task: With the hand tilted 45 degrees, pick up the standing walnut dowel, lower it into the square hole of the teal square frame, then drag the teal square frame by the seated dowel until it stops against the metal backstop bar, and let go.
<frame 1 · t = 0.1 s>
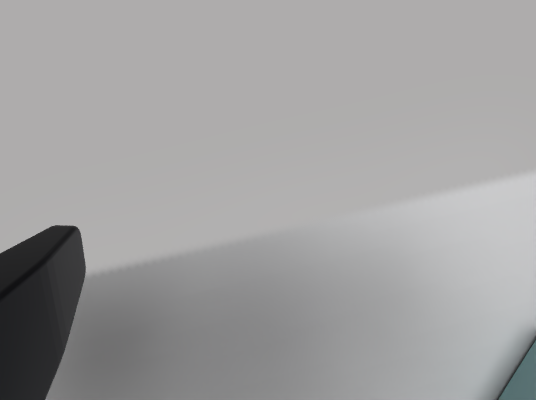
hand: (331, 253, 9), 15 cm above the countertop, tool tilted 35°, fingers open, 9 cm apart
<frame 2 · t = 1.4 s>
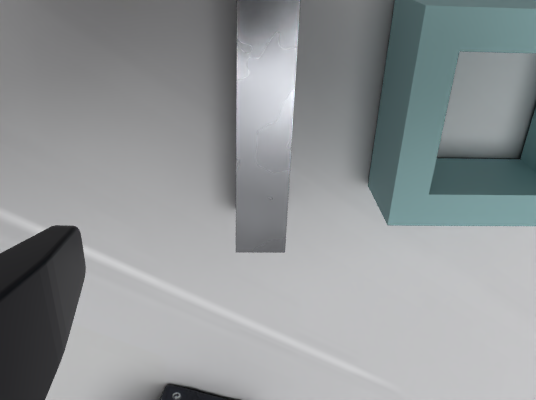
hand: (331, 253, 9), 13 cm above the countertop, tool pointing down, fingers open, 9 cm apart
backstop: (261, 94, 21), on the countertop
teal square frame: (494, 113, 20), point 2 cm above the countertop, slide at 0.0 cm
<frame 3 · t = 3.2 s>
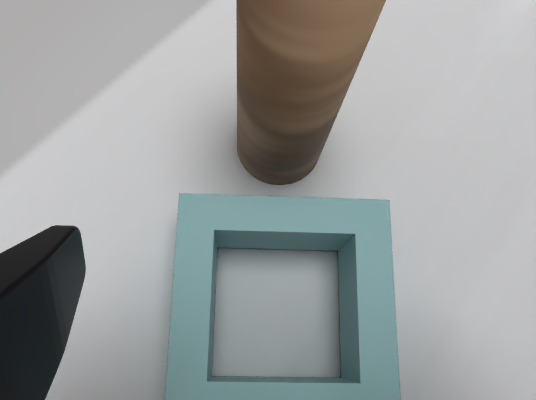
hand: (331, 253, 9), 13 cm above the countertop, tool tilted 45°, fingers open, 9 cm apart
teal square frame: (280, 307, 20), point 2 cm above the countertop, slide at 0.0 cm
dowel: (278, 145, 24), on the countertop
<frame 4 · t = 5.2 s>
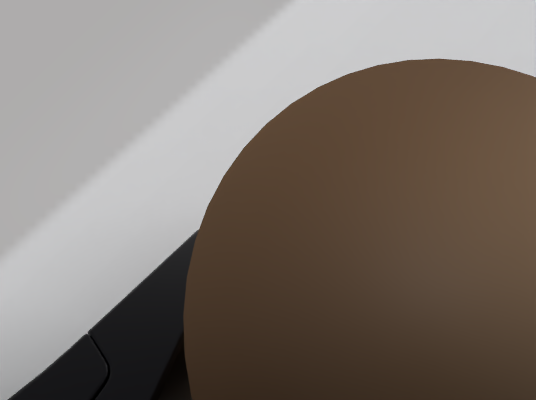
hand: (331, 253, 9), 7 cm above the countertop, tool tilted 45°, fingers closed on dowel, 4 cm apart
dowel: (293, 338, 15), on the countertop, touching gripper
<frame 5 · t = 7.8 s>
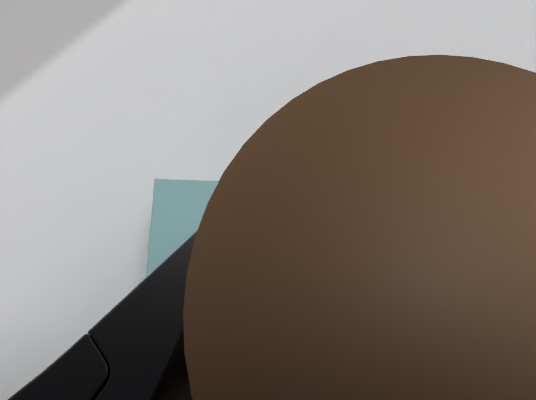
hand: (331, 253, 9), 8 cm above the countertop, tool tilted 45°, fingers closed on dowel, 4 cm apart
teal square frame: (294, 335, 15), point 2 cm above the countertop, slide at 0.0 cm
dowel: (293, 338, 15), point 2 cm above the countertop, touching gripper
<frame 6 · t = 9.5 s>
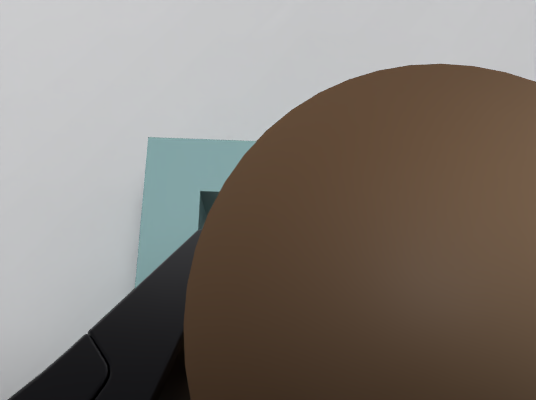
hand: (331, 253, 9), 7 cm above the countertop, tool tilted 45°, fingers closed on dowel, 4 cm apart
teal square frame: (299, 308, 14), point 2 cm above the countertop, slide at 4.0 cm, touching backstop, dowel
dowel: (292, 334, 15), resting in teal square frame, touching gripper
when the fingers open (7 cm above the countertop, at t = 10.4 s): dowel stays where it is, resting in teal square frame.
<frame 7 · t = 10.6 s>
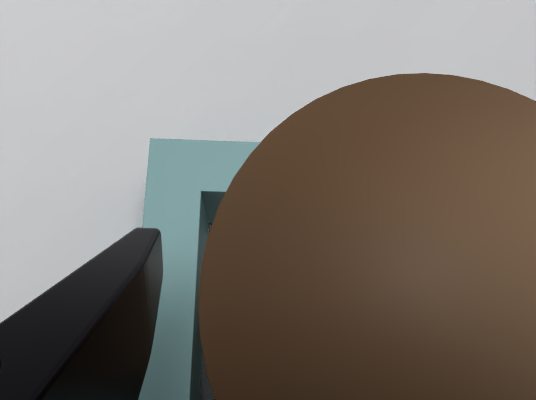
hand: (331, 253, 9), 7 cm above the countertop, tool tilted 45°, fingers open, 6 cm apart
teal square frame: (298, 305, 14), point 2 cm above the countertop, slide at 4.0 cm, touching backstop
dowel: (291, 328, 16), resting in teal square frame
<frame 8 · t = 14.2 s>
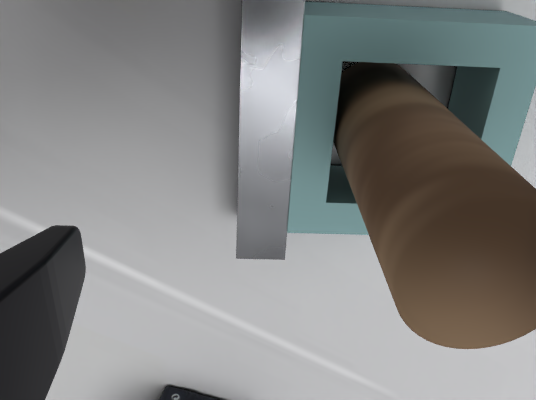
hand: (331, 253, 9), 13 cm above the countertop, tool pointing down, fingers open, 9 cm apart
backstop: (264, 103, 21), on the countertop
teal square frame: (395, 123, 20), point 2 cm above the countertop, slide at 4.0 cm, touching backstop
dowel: (371, 107, 21), resting in teal square frame
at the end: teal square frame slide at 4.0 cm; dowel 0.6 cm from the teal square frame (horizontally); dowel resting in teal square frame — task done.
